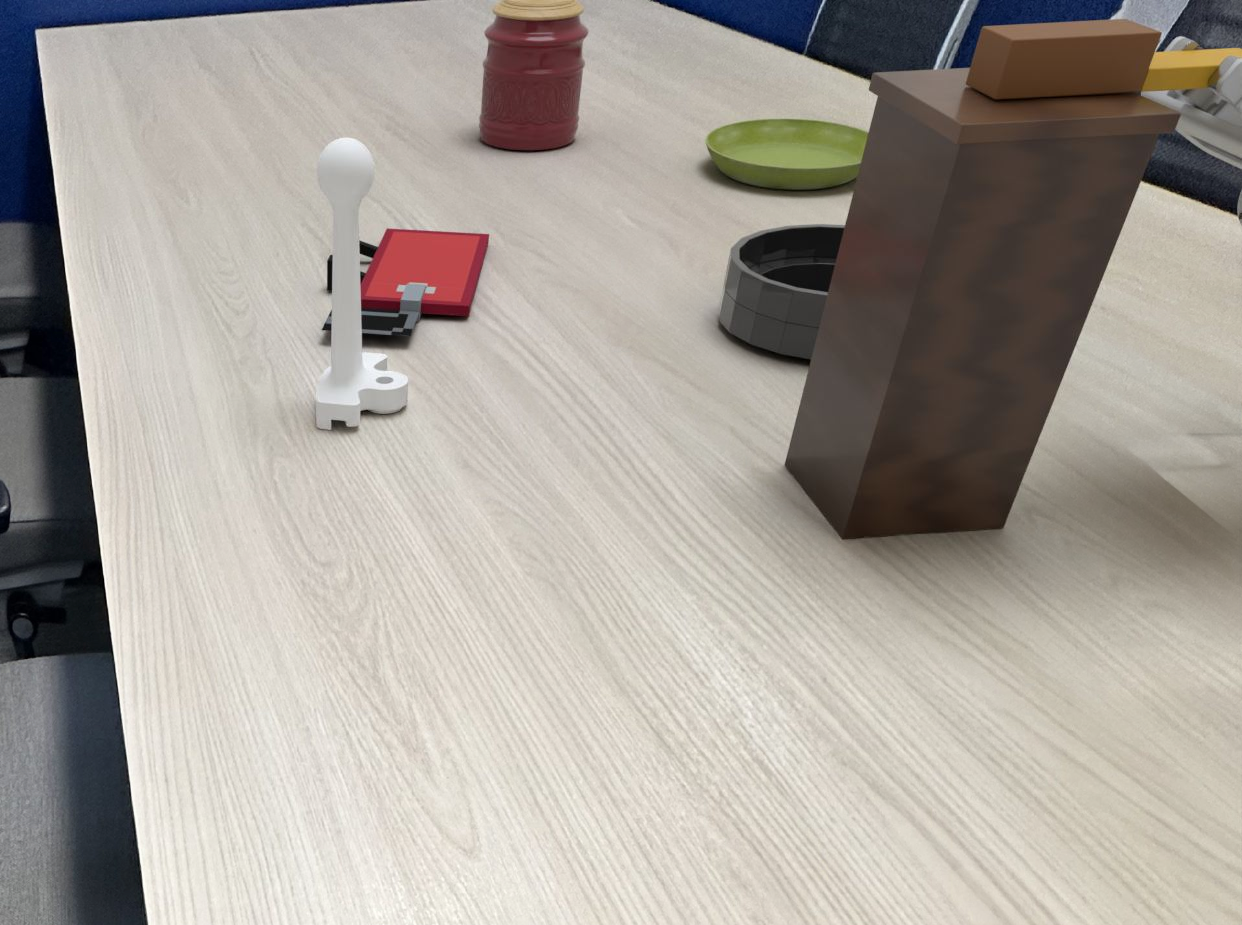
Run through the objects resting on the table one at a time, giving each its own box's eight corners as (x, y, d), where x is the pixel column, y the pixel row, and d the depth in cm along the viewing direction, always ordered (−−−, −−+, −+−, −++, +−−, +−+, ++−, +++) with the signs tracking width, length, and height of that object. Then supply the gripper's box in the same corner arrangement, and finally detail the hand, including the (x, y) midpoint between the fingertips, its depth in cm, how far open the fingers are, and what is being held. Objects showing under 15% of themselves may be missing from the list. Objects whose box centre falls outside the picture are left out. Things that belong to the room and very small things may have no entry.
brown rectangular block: (1228, 70, 79) (1253, 11, 77) (1268, 85, 76) (1295, 24, 74) (964, 84, 78) (981, 25, 76) (994, 100, 75) (1013, 39, 73)
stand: (935, 452, 100) (1068, 62, 82) (1013, 531, 91) (1182, 113, 72) (775, 462, 100) (872, 72, 81) (838, 543, 90) (962, 124, 72)
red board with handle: (301, 339, 119) (460, 350, 117) (301, 307, 117) (462, 318, 115) (352, 240, 140) (488, 248, 138) (353, 212, 138) (490, 219, 136)
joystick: (338, 375, 114) (335, 118, 99) (420, 382, 112) (429, 122, 98) (305, 427, 106) (296, 157, 92) (392, 435, 105) (397, 162, 90)
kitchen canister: (466, 130, 170) (475, -33, 158) (558, 122, 172) (574, -39, 159) (493, 156, 161) (505, -15, 149) (590, 148, 163) (610, -22, 150)
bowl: (883, 285, 126) (902, 219, 122) (972, 361, 112) (996, 290, 108) (691, 296, 125) (703, 230, 121) (757, 374, 111) (773, 303, 107)
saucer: (687, 149, 161) (692, 119, 159) (851, 146, 160) (858, 116, 158) (717, 198, 147) (723, 167, 144) (897, 195, 146) (906, 164, 144)
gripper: (1270, 89, 87) (1148, -27, 82) (1490, 173, 73) (1359, 39, 67) (1189, 180, 91) (1067, 75, 85) (1383, 277, 77) (1251, 158, 71)
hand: (1197, 60), depth 76 cm, fingers closed on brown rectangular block, 4 cm apart
